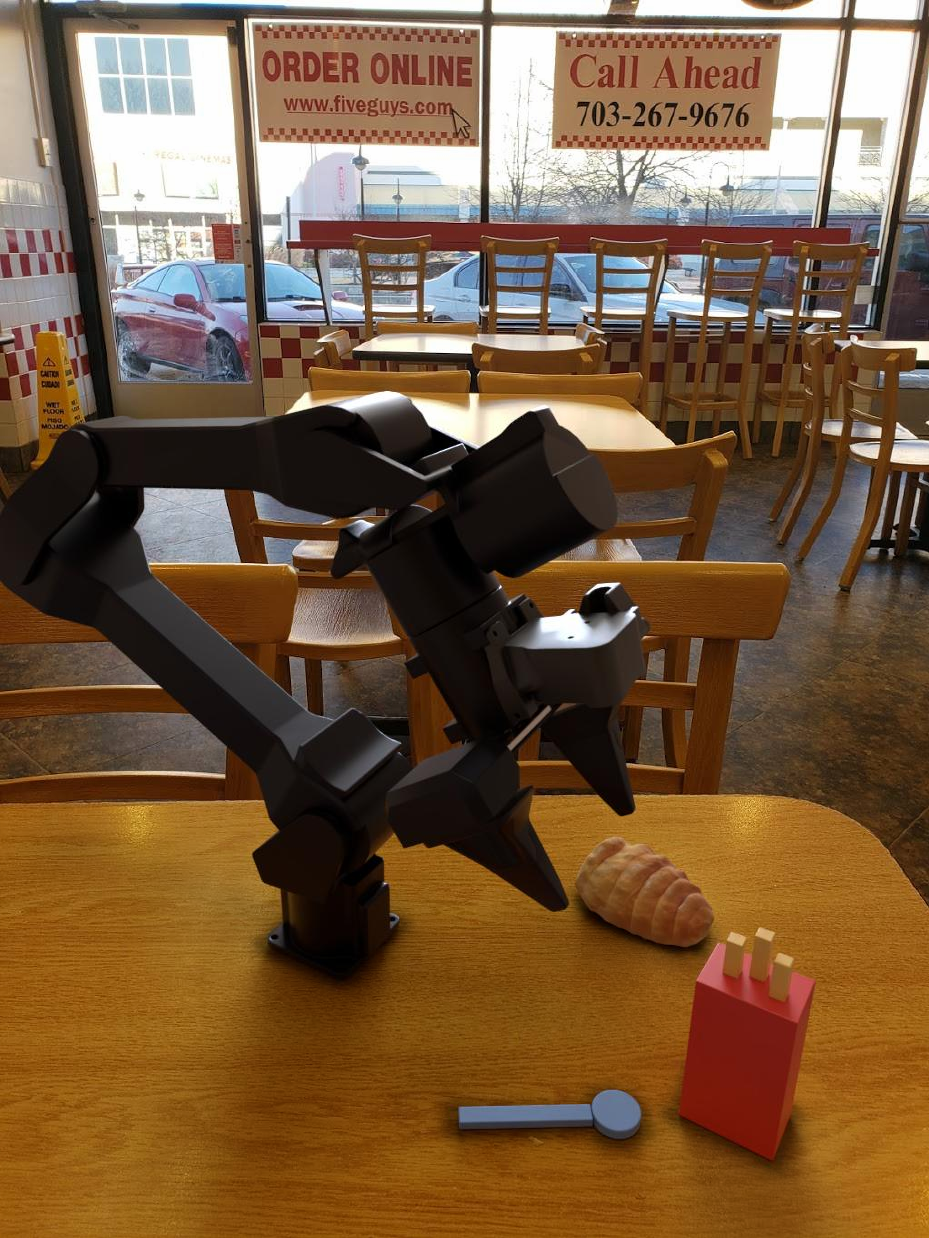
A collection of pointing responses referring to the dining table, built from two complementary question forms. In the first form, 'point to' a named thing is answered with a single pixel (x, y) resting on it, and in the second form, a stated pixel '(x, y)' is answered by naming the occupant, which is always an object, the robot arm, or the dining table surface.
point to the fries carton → (746, 1043)
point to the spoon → (561, 1115)
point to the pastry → (643, 894)
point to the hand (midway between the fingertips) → (597, 858)
